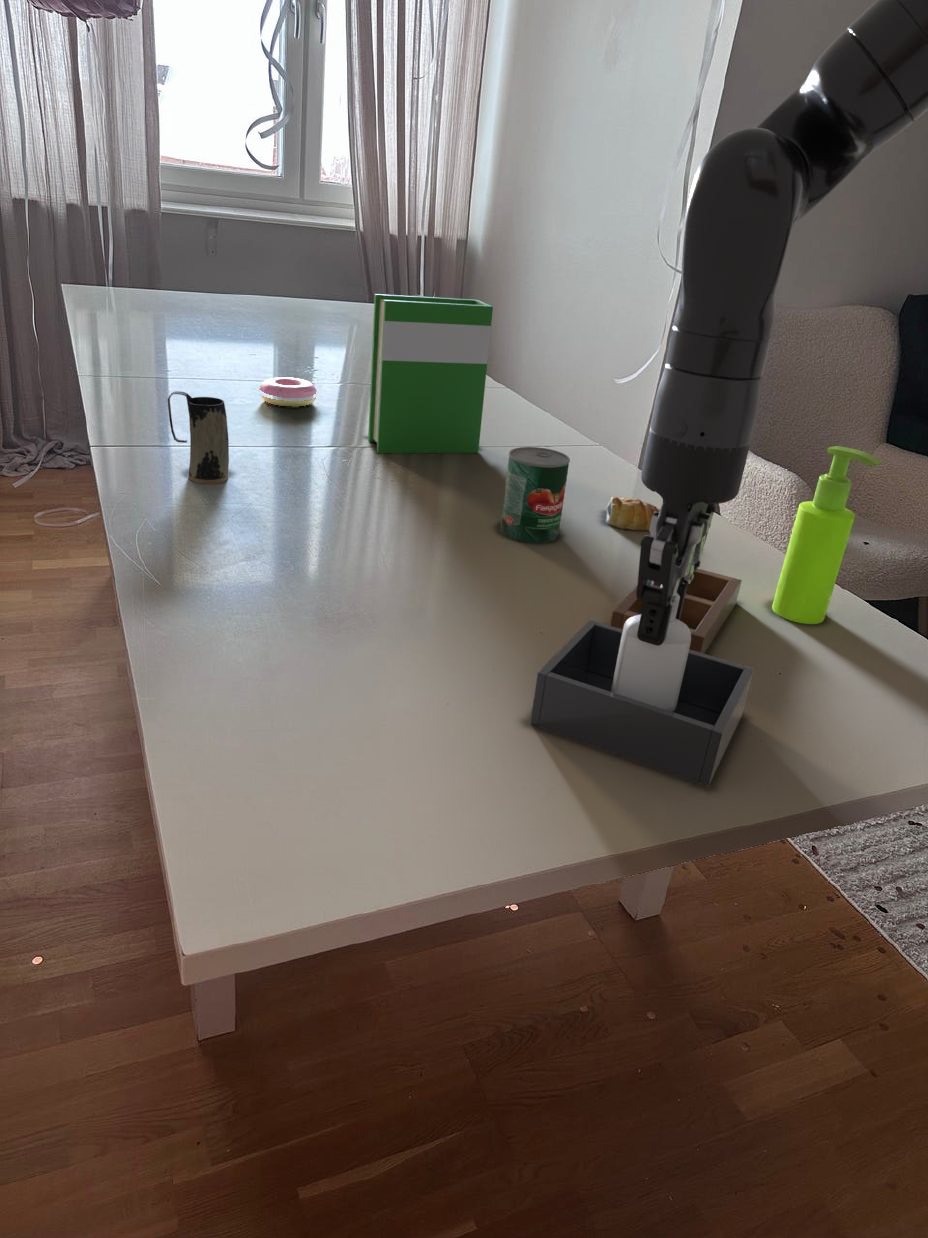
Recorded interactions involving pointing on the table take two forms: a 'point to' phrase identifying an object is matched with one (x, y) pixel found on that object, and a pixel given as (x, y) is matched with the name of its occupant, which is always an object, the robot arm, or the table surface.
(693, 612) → the tray
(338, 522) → the table surface
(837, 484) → the soap dispenser
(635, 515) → the pastry
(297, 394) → the doughnut
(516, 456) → the canned tomato
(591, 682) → the dark grey open box
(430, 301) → the hardback book
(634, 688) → the eye dropper bottle
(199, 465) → the mug
